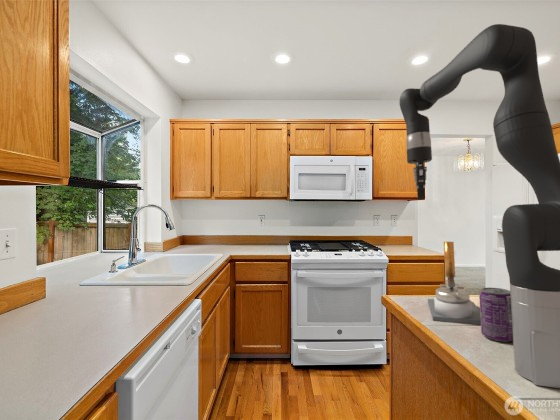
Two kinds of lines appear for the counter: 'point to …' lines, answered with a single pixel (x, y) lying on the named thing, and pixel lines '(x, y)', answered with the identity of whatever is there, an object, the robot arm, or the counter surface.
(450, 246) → the hub and bar
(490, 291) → the beverage can
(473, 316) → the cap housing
